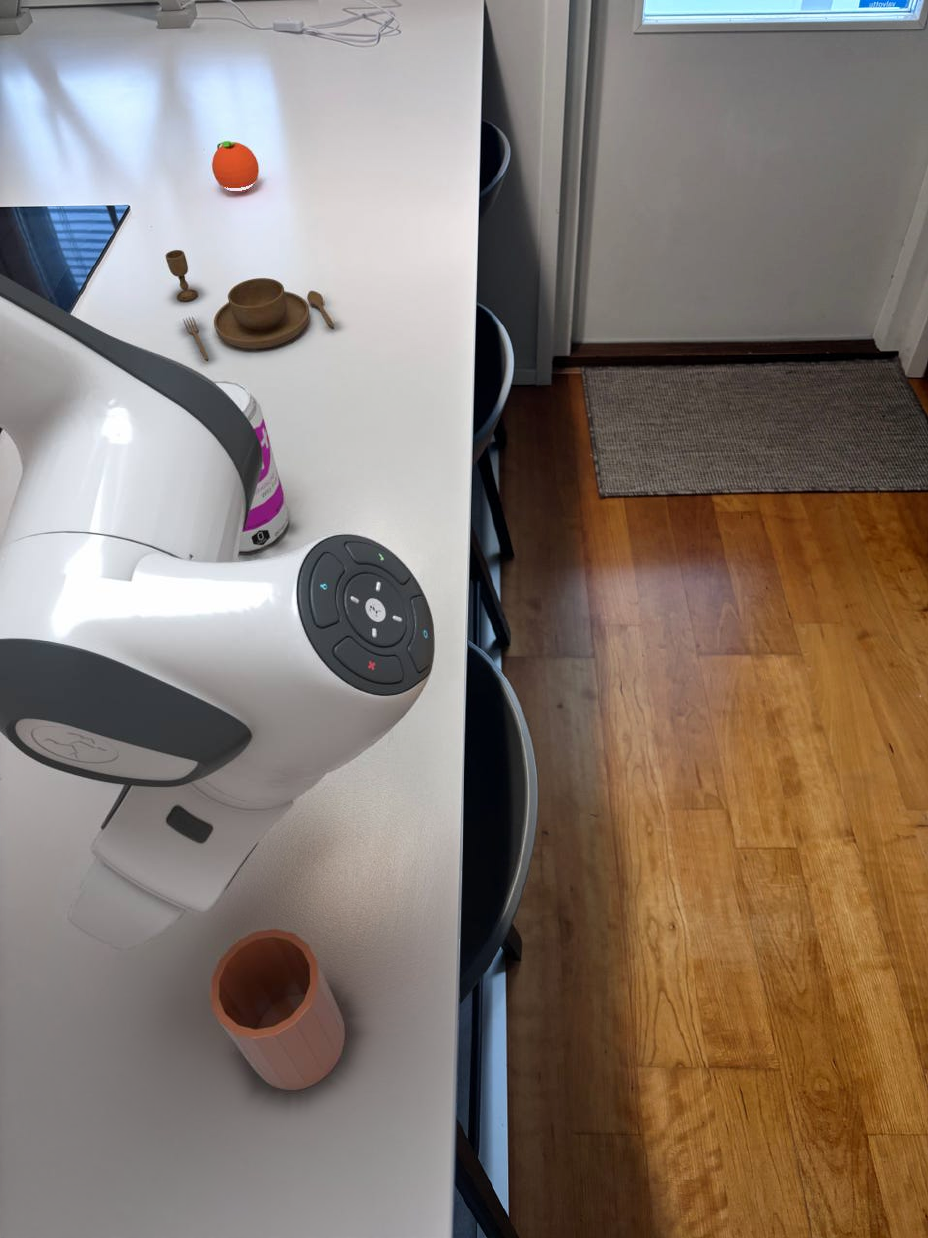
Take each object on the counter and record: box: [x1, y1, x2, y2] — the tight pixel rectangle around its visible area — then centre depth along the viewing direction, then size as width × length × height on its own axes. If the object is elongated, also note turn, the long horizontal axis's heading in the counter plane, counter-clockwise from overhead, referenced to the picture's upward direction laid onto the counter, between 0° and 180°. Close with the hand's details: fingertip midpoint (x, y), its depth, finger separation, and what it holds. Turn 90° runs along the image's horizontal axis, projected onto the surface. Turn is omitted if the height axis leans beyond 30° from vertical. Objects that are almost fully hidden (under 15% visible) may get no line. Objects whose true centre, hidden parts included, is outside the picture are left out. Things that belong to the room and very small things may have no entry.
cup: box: [209, 928, 346, 1091], centre depth 58 cm, size 6×6×10 cm
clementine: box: [211, 140, 260, 194], centre depth 145 cm, size 8×7×7 cm
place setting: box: [165, 249, 335, 361], centre depth 120 cm, size 18×20×6 cm
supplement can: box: [211, 379, 290, 553], centre depth 90 cm, size 8×8×15 cm
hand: (164, 805), depth 60 cm, fingers closed
